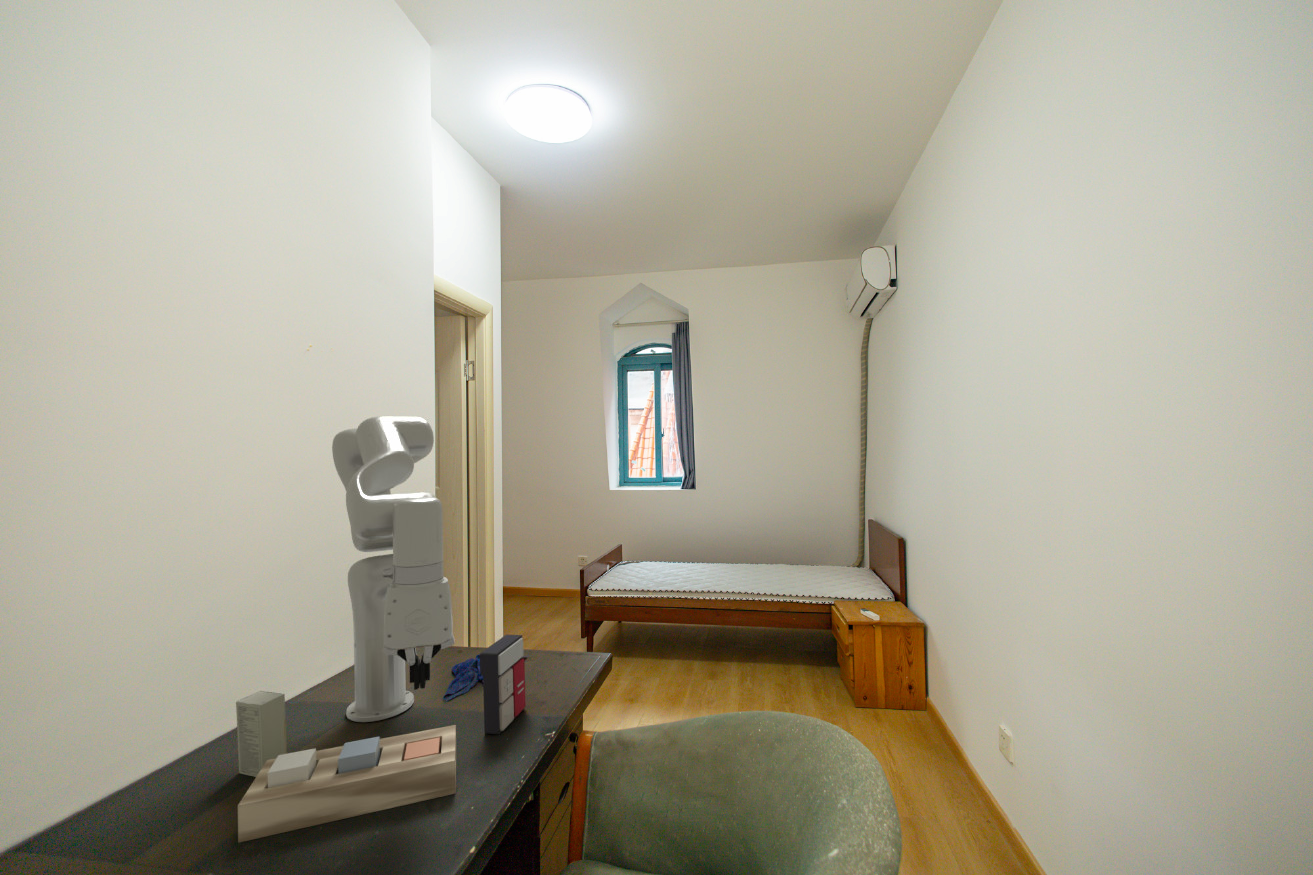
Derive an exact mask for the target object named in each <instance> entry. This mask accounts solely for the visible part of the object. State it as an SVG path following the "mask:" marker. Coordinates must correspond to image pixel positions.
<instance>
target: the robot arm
mask: <svg viewBox="0 0 1313 875" xmlns="http://www.w3.org/2000/svg"><path fill="white" fill-rule="evenodd" d="M434 438H435V437H434V431H433V428H432V426H431V425H430V423H429V422H428V421H427V420H426V419H424V417H423V418H422V417H419V416H389V415H386V416H385V415H384V416H372V417H369V418H367V419H365V420H363V421H362V422H360V423H359V425H358V427H357V428H350V429H345V430H342V431H340V432H338V433H337V434H335V436H333V439H332V446H331V449H332V450H331V451H332V453H331V454H332V459H333V464H334V467H335V470H336V472H337V475H338V478H340V481H341V483H342V485H343V487H344V489H345V492H346V494H345V507H346V512H347V516H348V521H349V525H350V533H351V534H350V535H351V539H352V543H353V546H354V547H355V550H357V551H358V552H363V553H374V552H375V553H376V552H385V551H392V553H388V554H382V555H381V554H380V555H373V556H368V557H365V558H362V559H360V560H357V561H356V562H355V563H353V564H352V565H351V566H350V568H349V570H348V572H347V586H348V591H349V592H348V593H349V596H350V602H351V609H352V620H353V661H354V662H353V663H354V664H353V670H354V671H353V672H354V673H353V674H354V701H353V702H351V703H350V704H348V706H347V708H346V712H345V713H346V717H347V719H348V720H350V721H352V722H357V723H370V722H372V723H373V722H378V721H381V720H386V719H389V718H392V717H395V716H398V715H400V714H401V713H404V712H405V711H408V709H409V708H411V707H412V706H413V704H414V702H415V695H414V693H413V692H412V691H409V690H406V689H407V688H406V684H407V683H406V664H407V665H408V666H409V683H410V684H412V683H413V689H414V691H416V690H419V689H425V688H426V683H427V682H428V681H430V680H431V661H432V659H433V658H434V657H435V656H436V655H437V654H438V653H439V652H440V651H441V650H442V649H443V650H444V649H447V648H449V647H452V646H454V645H455V642H456V641H455V637H454V633H453V629H454V627H453V626H454V622H453V620H454V619H453V604H452V593H451V588H450V587H451V586H450V583H449V580H448V578H447V577H445V576H444V524H443V523H444V521H443V519H444V517H443V516H444V515H443V514H444V512H443V503H442V501H441V500H440V499H439V498H437V497H436V496H435V495H434V494H433V493H430V492H425V491H423V492H422V491H421V492H419V491H418V492H407V493H406V492H405V493H404V492H403V493H402V492H401V493H391V490H392V489H394V488H396V487H398V486H400V485H401V484H403V483H405V482H406V481H407V480H409V478H410V477H411V476H412V474H413V472H414V469H415V464H416V463H418V462H420V461H421V460H423V459H425V458H426V457H427V456H428V455H429V454H430V453H431V452H432V449H433V447H434V441H435V440H434ZM423 647H424V650H423V654H422V655H421V659H420V658H419V656H418V654H417V651H416V650H417V648H423Z"/></svg>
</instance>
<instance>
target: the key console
mask: <svg viewBox="0 0 1313 875" xmlns="http://www.w3.org/2000/svg"><path fill="white" fill-rule="evenodd" d="M456 729H457V725H456V724H452V725H448V726H442V727H438V728H437V727H436V728H432V729H426V730H422V731H415V732H411V733H406V734H400V735H394V736H390V737H384V738H383V737H382V738H380V758H379V761H378V765H377V766H375V767H371V768H366V769H361V770H356V771H351V772H346V773H341V774H338V758H339V756H340V754H341V751H342V749H343V746H344V745H339V746H335V747H330V748H323V749H320V750H316V768H315V770H314V773H313V775H312V777H311V779H310V780H306V781H301V782H296V783H291V784H286V785H281V786H276V787H271V788H268V771H269V770H270V768H271V767H272V765H273V763H274V762H275V760H276V759H270V760H267V761H266V763H265V764H264V766H263V767H262V769H261V770H260V772H259V773H258V775H257V777H254V778H255V779H254V780H253V782H252V783H251V785H250V786H249V788H248V789H247V791H245V792H246V793H245V794H244V795H243V796H242V798H241V799H240V801H239V803H238V805H237V837H238V838H237V840H238V841H237V842H238V843H244V842H247V841H252V840H256V839H260V838H264V837H269V836H273V835H274V836H275V835H278V834H282V833H286V832H291V831H295V830H300V829H304V828H309V827H314V826H319V825H322V824H326V823H332V822H336V821H339V820H344V819H348V818H353V817H357V816H361V815H367V814H370V813H375V812H380V811H383V810H388V809H392V808H398V807H401V806H407V805H411V804H415V803H419V802H420V803H421V802H424V801H427V800H432V799H437V798H441V797H446V796H450V795H454V794H457V730H456ZM439 737H440V754H435V755H430V756H425V757H420V758H415V759H410V760H405V761H404V757H405V752H406V747H407V744H408V743H413V742H418V741H424V740H429V739H434V738H439ZM238 843H237V844H238Z"/></svg>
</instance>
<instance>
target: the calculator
mask: <svg viewBox="0 0 1313 875" xmlns="http://www.w3.org/2000/svg"><path fill="white" fill-rule="evenodd" d="M525 667H526V666H525V658H524V638H523V635H522V634H505V635H504V636H502V637H501V638H499V639H497V640H496V642H494V643H493V644H491V645H490V646H488V647H487V648H485V649H484V650H483V651H481V652H480V653H479V673H480V676H481V677H482V679H483V680H482V682H483V685H482V686H483V688H482V689H483V722H484V723H483V724H484V726H483V727H484V728H483V731H484V733H485V734H490V735H491V734H492V735H500V734H501V733H503V731H504V730H505V729H506V728H508V726H509V725H510V724H511V723H512V722H513V721H514V719H515V718H517V716H519V715H520V713H521V712H522V711H523V710H524V709H525V708H526V668H525Z"/></svg>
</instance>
